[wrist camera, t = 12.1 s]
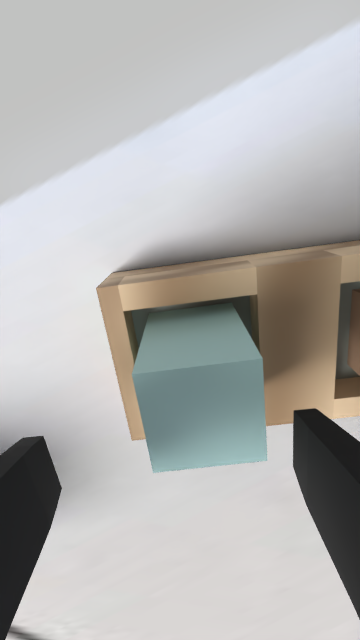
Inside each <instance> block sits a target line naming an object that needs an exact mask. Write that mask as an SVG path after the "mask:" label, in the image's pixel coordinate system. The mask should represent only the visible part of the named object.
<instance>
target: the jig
mask: <svg viewBox="0 0 360 640" xmlns="http://www.w3.org/2000/svg"><path fill="white" fill-rule="evenodd" d="M353 289H360V240H357V241H349V242H342V243H334V244H327V245H319V246H312V247H304V248H297V249H289V250H282V251H274V252H267V253H259V254H252V255H244V256H237V257H229V258H221V259H214V260H206V261H199V262H191V263H184V264H176V265H169V266H161V267H154V268H146V269H139V270H131V271H124V272H116V273H111V274H110V275H109V276H108V277H107V278H106V279H105V280H104V281H103V282H102V283H101V284H100V285H99V286H98V287H97V288H96V290H97V294H98V298H99V303H100V307H101V311H102V315H103V320H104V324H105V328H106V332H107V337H108V341H109V345H110V349H111V354H112V358H113V362H114V366H115V371H116V375H117V379H118V383H119V388H120V392H121V396H122V400H123V405H124V409H125V413H126V417H127V422H128V426H129V430H130V434H131V439H132V441H133V440H142V439H146V437H145V433H144V428H143V424H142V419H141V414H140V410H139V405H138V401H137V396H136V392H135V387H134V383H133V378H132V372H133V368H134V365H135V361H136V357H137V354H138V350H139V347H140V343H141V340H142V336H143V333H144V329H145V326H146V322H147V319H148V315H149V313H155V312H163V311H170V310H178V309H186V308H193V307H201V306H209V305H216V304H224V303H232V304H233V306H234V308H235V310H236V311H237V313H238V315H239V317H240V319H241V320H242V322H243V324H244V326H245V328H246V329H247V331H248V333H249V335H250V337H251V338H252V340H253V342H254V344H255V346H256V347H257V349H258V351H259V353H260V355H261V356H262V358H263V377H264V399H265V421H266V426H271V425H280V424H290V423H293V414H294V410H302V409H312V408H316V409H318V410H319V411H320V412H322V413H323V414H324V415H325V416H327V417H328V418H329V419H336V418H345V417H354V416H360V376H359V375H358V374H357V373H356V372H355V371H354V370H353V369H352V368H351V367H350V366H349V365H348V364H347V359H348V344H349V330H350V316H351V301H352V290H353Z"/></svg>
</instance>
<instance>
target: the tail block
mask: <svg viewBox="0 0 360 640" xmlns="http://www.w3.org/2000/svg"><path fill="white" fill-rule="evenodd" d="M132 378H133V383H134V387H135V392H136V396H137V401H138V405H139V410H140V414H141V419H142V424H143V428H144V433H145V437H146V442H147V446H148V451H149V455H150V460H151V464H152V469H153V473H156V472H165V471H175V470H184V469H193V468H203V467H212V466H221V465H231V464H240V463H250V462H259V461H267V443H266V421H265V399H264V377H263V358H262V356H261V355H260V353H259V351H258V349H257V347H256V346H255V344H254V342H253V340H252V338H251V337H250V335H249V333H248V331H247V329H246V328H245V326H244V324H243V322H242V320H241V319H240V317H239V315H238V313H237V311H236V310H235V308H234V306H233V304H232V303H224V304H216V305H209V306H201V307H193V308H186V309H178V310H170V311H163V312H155V313H149V315H148V319H147V322H146V326H145V329H144V333H143V336H142V340H141V343H140V347H139V350H138V354H137V357H136V361H135V365H134V368H133V372H132Z"/></svg>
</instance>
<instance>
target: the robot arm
mask: <svg viewBox="0 0 360 640" xmlns="http://www.w3.org/2000/svg"><path fill="white" fill-rule="evenodd" d="M293 467H294V470H295V473H296V476H297V479H298V482H299V485H300V488H301V491H302V494H303V497H304V499H305V502H306V505H307V507H308V509H309V511H310V514H311V516H312V518H313V520H314V522H315V524H316V527H317V529H318V531H319V533H320V535H321V537H322V539H323V542H324V544H325V546H326V548H327V550H328V552H329V554H330V556H331V559H332V561H333V563H334V565H335V567H336V569H337V571H338V573H339V576H340V578H341V580H342V582H343V584H344V586H345V588H346V590H347V593H348V595H349V597H350V599H351V601H352V603H353V605H354V608H355V610H356V612H357V614H358V617H359V619H360V442H359V441H358V440H357V439H355V438H354V437H353V436H351V435H350V434H349V433H347V432H346V431H345V430H344V429H342V428H341V427H340V426H338V425H337V424H336V423H334V422H333V421H332V420H331V419H329V418H328V417H327V416H325V415H324V414H323V413H322V412H320V411H319V410H318V409H316V408H312V409H302V410H294V414H293ZM61 489H62V488H61V485H60V482H59V479H58V476H57V474H56V471H55V468H54V465H53V462H52V459H51V456H50V454H49V451H48V448H47V445H46V442H45V439H44V436H37V437H27V438H22V439H21V440H20V441H18V442H17V443H15V444H14V445H13V446H12V447H10V448H9V449H8V450H7V451H5V452H4V453H3V454H2V455H0V640H5V639H6V636H7V633H8V631H9V628H10V626H11V623H12V621H13V619H14V616H15V614H16V611H17V609H18V606H19V604H20V602H21V599H22V597H23V594H24V592H25V589H26V587H27V585H28V582H29V580H30V577H31V575H32V572H33V570H34V568H35V565H36V563H37V560H38V558H39V555H40V553H41V550H42V548H43V545H44V543H45V540H46V538H47V535H48V533H49V530H50V528H51V524H52V521H53V518H54V514H55V511H56V508H57V504H58V500H59V496H60V493H61Z"/></svg>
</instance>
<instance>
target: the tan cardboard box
mask: <svg viewBox="0 0 360 640" xmlns="http://www.w3.org/2000/svg"><path fill="white" fill-rule="evenodd" d="M347 364H348V365H349V366H350V367H351V368H352V369H353V370H354V371H355V372H356V373H357V374H358V375H359V376H360V289H353V290H352V301H351V316H350V330H349V344H348V359H347Z"/></svg>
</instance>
